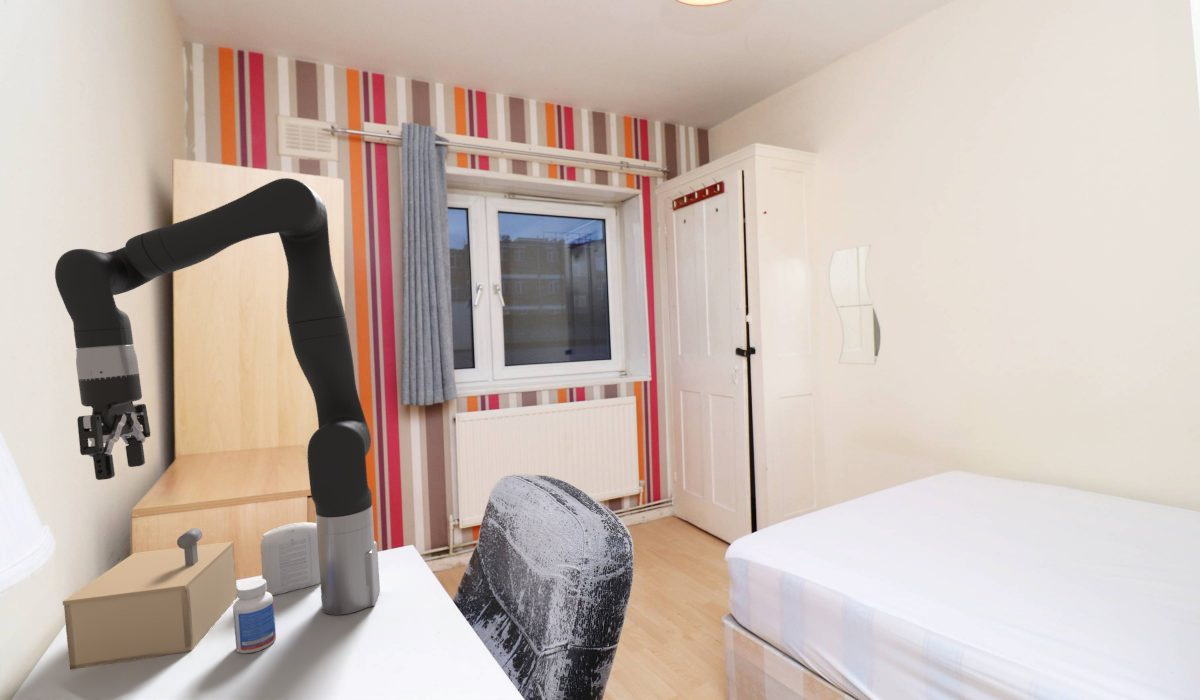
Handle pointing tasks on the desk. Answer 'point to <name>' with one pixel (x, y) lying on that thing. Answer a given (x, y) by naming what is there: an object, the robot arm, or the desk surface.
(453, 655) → the desk surface
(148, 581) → the carton lid
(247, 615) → the pill bottle
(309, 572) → the photo printer
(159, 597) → the carton
